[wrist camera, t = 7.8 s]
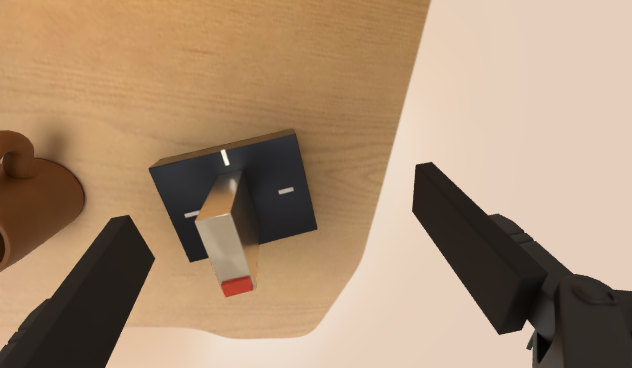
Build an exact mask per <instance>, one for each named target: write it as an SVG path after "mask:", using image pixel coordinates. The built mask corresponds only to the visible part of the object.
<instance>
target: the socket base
mask: <svg viewBox="0 0 632 368" xmlns="http://www.w3.org/2000/svg"><path fill="white" fill-rule="evenodd" d="M239 170H243V173H244V176H245V179H246V183H247V186H248V189H249V193H250V196H251V199H252V202H253V206H254V209H255V212H256V216H257V219H258V222H259V225H260V231H259V245H260V244H263V243H267V242H271V241H275V240H279V239H282V238H286V237H290V236H294V235H298V234H302V233H305V232H309V231H313V230H317V224H316V220H315V216H314V211H313V207H312V203H311V198H310V194H309V190H308V185H307V181H306V177H305V172H304V168H303V164H302V159H301V155H300V151H299V146H298V142H297V138H296V134H295V132H294V130H293V129H289V130H285V131H281V132H276V133H272V134H268V135H263V136H259V137H255V138H251V139H246V140H242V141H238V142H233V143H229V144H225V145H221V146H216V147H212V148H208V149H203V150H199V151H195V152H191V153H186V154H182V155H178V156H173V157H169V158H165V159H161V160H159V161H158V162H157V163H155V164H154V165H153V166H151V167H150V168H149V171H150V174H151V176H152V178H153V180H154V183H155V185H156V187H157V189H158V192H159V194H160V196H161V198H162V201H163V203H164V205H165V207H166V210H167V212H168V214H169V216H170V219H171V221H172V223H173V225H174V228H175V230H176V232H177V234H178V237H179V239H180V241H181V243H182V246H183V248H184V250H185V252H186V255H187V257H188V259H189V261H190V262H194V261H198V260H202V259H206V258H209V256H208V254H207V251H206V249H205V246H204V244H203V241H202V239H201V236H200V234H199V231H198V229H197V226H196V224H195V220H196V218H197V216H198V214H199V212H200V210H201V208H202V206H203V204H204V202H205V201H206V199H207V197H208V195H209V193H210V191H211V189H212V187H213V185H214V183H215V181H216V179H217V177H218V175H222V174H226V173H230V172H235V171H239Z"/></svg>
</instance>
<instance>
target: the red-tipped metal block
mask: <svg viewBox="0 0 632 368" xmlns="http://www.w3.org/2000/svg"><path fill="white" fill-rule="evenodd" d="M195 224H196V226H197V229H198V231H199V234H200V236H201V239H202V241H203V244H204V246H205V249H206V251H207V254H208V256H209V259H210V261H211V264H212V266H213V269H214V272H215V274H216V277H217V279H218V282H219V284H220V287H221V289H222V292H223V294H224V297H229V296H233V295H237V294H241V293H244V292H248V291H252V290H255V289H256V284H257V266H258V249H259V231H260V225H259V222H258V219H257V216H256V212H255V209H254V206H253V202H252V199H251V196H250V193H249V189H248V186H247V183H246V179H245V176H244V173H243V170H239V171H235V172H230V173H226V174H222V175H218V177H217V179H216V181H215V183H214V185H213V187H212V189H211V191H210V193H209V195H208V197H207V199H206V201H205V202H204V204H203V206H202V208H201V210H200V212H199V214H198V216H197V218H196V220H195Z"/></svg>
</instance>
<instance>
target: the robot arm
mask: <svg viewBox="0 0 632 368" xmlns="http://www.w3.org/2000/svg"><path fill="white" fill-rule="evenodd" d="M414 182H415V183H414V195H413V207H412V212H413V213H414V215H415V216H416V217H417V219H418V220H419V222H420V223H421V225H422V226H423V227H424V229H425V230H426V232H427V233H428V234H429V236H430V237H431V239H432V240H433V242H434V243H435V244H436V246H437V247H438V249H439V250H440V251H441V253H442V254H443V256H444V257H445V259H446V260H447V262H448V263H449V264H450V266H451V267H452V269H453V270H454V272H455V273H456V274H457V276H458V277H459V279H460V280H461V282H462V283H463V284H464V286H465V287H466V288H467V290H468V291H469V293H470V294H471V296H472V297H473V299H474V300H475V301H476V303H477V304H478V306H479V307H480V308H481V310H482V311H483V313H484V314H485V316H486V317H487V318H488V320H489V321H490V323H491V324H492V325H493V327H494V328H495V330H496V331H497V333H498V334H499V335H501V334H506V333H511V332H515V331H520V330H522V328H523V326H524V324H525V322H526V320H528V321H529V322H530V323H531V325H532V326H533V327H534V328H535V331H534V333H533V335H532V337H531V339H530V341H529V343H528V345H527V349H528V350H531V348H532V347H533V363H532V366H533V368H632V291H623V290H613V289H612V288H610V287H609V286H607V285H605V284H604V283H602V282H601V281H599V280H596V279H594V278H591V277H588V276H584V275H578V274H573V273H572V272H570V271H569V270H568V269H567V268H566V267H565V266H564V265H562V264H561V263H560V262H559V261H558V260H557V259H556V258H555V257H553V256H552V255H551V254H550V253H549V252H548V251H546V250H545V249H544V248H543V247H542V246H541V245H540V244H539V243H537V242H536V241H534V240H533V238H532V237H530V236H529V235H528V234H527V233H524V230H522V229H521V228H520V227H519V226H518V225H517V224H516V223H514V222H513V221H512V220H510V219H508V218H506V217H504V216H502V215H500V214H493V215H487V214H486V213H485V212H484V211H483V210H482V209H480V207H479V206H477V205H476V204H475V203H474V202H473V201H472V200H471V199H470V198H469V197H468V196H467V195H466V194H465V193H464V192H463V191H462V190H461V189H459V187H457V186H456V185H455V184H454V183H453V182H452V181H451V180H450V179H449V178H448V177H447V176H446V175H445V174H444V173H443V172H442V171H440V169H438V168H437V167H436V166H435V165H434V164H433V163H432V162H429V163H424V164H417V165H416V169H415V181H414ZM154 260H155V257H154V256H153V254H152V252H151V251H150V249H149V247H148V246H147V244H146V242H145V241H144V239H143V237H142V236H141V234H140V232H139V231H138V229H137V227H136V226H135V224H134V222H133V221H132V219H131V217H130V216H129V215H126V216H121V217H115V218H111V219H110V221H109V222H108V223H107V225H106V226H105V227H104V229H103V230H102V231H101V232H100V234H99V235H98V236H97V238H96V239H95V240H94V242H93V243H92V244H91V246H90V247H89V248H88V250H87V251H86V252H85V254H84V255H83V256H82V258H81V259H80V260H79V261H78V263H77V264H76V265H75V267H74V268H73V269H72V271H71V272H70V273H69V275H68V276H67V277H66V279H65V280H64V281H63V283H62V284H61V285H60V287H59V288H58V289H57V291H56V292H55V293H54V294H53V296H52V297H51V298H50V299H46V300H45V301H44V302H43V303H42V304H40V305H39V306H38V307H37V308H36V309H35V310H33V311H32V312H31V313H30V314H29V315H28V317H27V318H26V319H25V321H24V322H23V323H22V324H21V326H20V327H19V328H18V332H15V333H14V334H13V336H12V337H11V338H10V340H9V341H8V344H7V345H5V346H4V347H3V348H2V350H1V351H0V368H105V367H106V364H107V362H108V360H109V358H110V356H111V354H112V351H113V349H114V347H115V345H116V343H117V341H118V338H119V336H120V334H121V332H122V330H123V328H124V325H125V323H126V321H127V319H128V317H129V315H130V312H131V310H132V308H133V306H134V304H135V301H136V299H137V297H138V295H139V293H140V291H141V288H142V286H143V284H144V282H145V280H146V278H147V275H148V273H149V271H150V269H151V267H152V264H153V262H154Z"/></svg>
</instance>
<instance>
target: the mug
mask: <svg viewBox="0 0 632 368" xmlns="http://www.w3.org/2000/svg"><path fill="white" fill-rule="evenodd" d="M3 156H4V158H3V163H2V164H0V272H1V271H3V270H4V269H6V268H7V267H9V266H11V265H12V264H14V263H16V262H17V261H19V260H20V259H22V258H23V257H25V256H26V255H27V254H29V253H30V252H31V251H33V250H34V249H36V248H37V247H38V246H40V245H41V244H42V243H44V242H45V241H47V240H48V239H49V238H51V237H52V236H53V235H55V234H56V233H57V232H59V231H60V230H61V229H63V228H64V227H65V226H67V225H68V224H69V223H71V222H72V221H73V220H74V219H75V218H76V217H77V216H78V214H79V213H80V211H81V209H82V206H83V192H82V189H81V186H80V185H79V183H78V181H77V180H76V178H75V177H74V176H73V175H72V174H71V173H70V172H68V171H67V170H66V169H64V168H63V167H61V166H59V165H57V164H55V163H53V162H50V161H47V160H43V159H37V158H34V148H33V145H32V143H31V142H30V140H29V139H28V138H27V137H25V136H24V135H22V134H21V133H18V132H14V131H9V130H6V131H0V160H1V158H2V157H3Z"/></svg>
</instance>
